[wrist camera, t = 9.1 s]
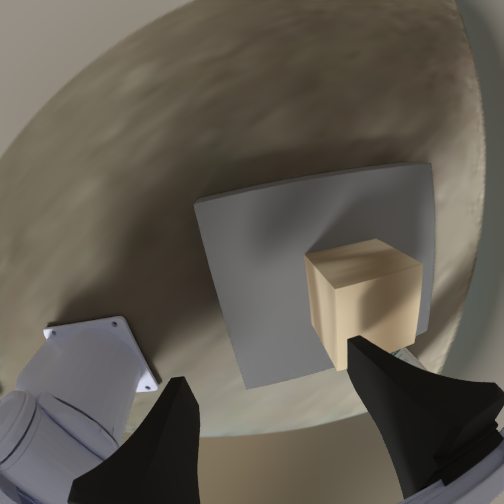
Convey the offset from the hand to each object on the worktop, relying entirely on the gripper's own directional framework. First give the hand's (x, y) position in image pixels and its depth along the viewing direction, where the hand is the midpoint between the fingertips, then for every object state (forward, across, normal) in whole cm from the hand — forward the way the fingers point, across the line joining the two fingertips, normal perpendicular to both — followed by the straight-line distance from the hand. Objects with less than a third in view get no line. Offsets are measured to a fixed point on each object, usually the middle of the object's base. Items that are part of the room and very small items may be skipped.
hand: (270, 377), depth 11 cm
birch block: (+6, -6, 0) cm, 9 cm away
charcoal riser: (+9, -6, 0) cm, 11 cm away
